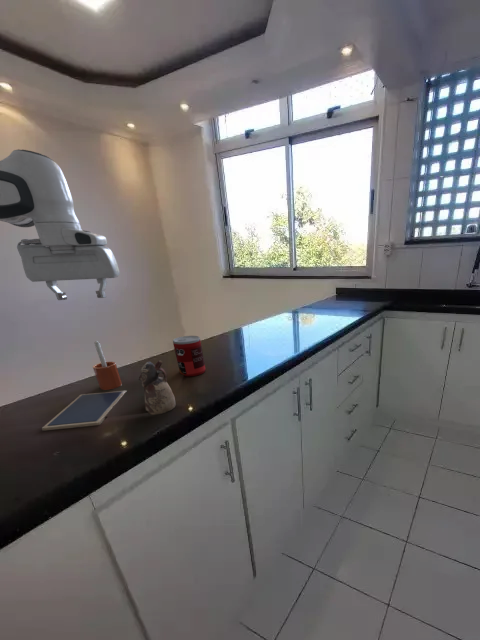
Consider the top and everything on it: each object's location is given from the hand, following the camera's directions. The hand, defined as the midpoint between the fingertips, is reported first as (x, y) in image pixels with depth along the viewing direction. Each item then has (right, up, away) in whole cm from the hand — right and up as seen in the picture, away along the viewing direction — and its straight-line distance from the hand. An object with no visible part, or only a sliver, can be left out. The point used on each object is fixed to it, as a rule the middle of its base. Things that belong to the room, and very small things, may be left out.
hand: (82, 298), depth 79 cm
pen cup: (+1, -22, +11) cm, 25 cm away
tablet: (+3, -28, -2) cm, 29 cm away
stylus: (+1, -22, +11) cm, 24 cm away
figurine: (+21, -28, -2) cm, 35 cm away
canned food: (+22, -17, +20) cm, 34 cm away
